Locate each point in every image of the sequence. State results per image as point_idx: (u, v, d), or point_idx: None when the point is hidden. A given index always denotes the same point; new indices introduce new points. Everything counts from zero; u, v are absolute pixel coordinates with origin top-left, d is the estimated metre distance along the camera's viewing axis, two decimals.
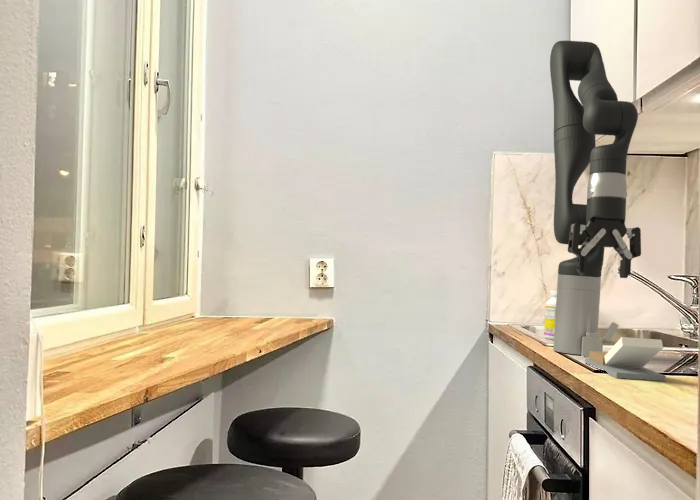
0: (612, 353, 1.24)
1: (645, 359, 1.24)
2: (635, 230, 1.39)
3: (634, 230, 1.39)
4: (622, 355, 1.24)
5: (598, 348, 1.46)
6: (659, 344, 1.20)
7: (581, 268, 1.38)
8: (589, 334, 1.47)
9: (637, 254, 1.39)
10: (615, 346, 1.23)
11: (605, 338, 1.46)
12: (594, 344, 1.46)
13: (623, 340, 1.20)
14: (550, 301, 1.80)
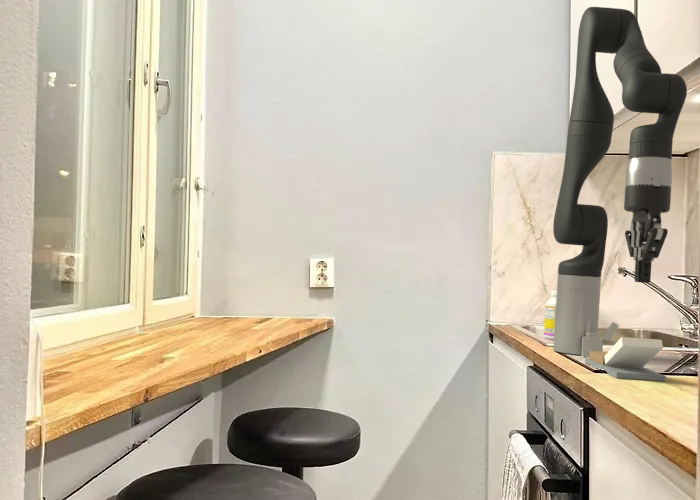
0: (612, 353, 1.24)
1: (645, 359, 1.24)
2: None
3: None
4: (622, 355, 1.24)
5: (598, 348, 1.46)
6: (659, 344, 1.20)
7: None
8: (589, 334, 1.47)
9: None
10: (615, 346, 1.23)
11: (605, 338, 1.46)
12: (594, 344, 1.46)
13: (623, 340, 1.20)
14: (550, 301, 1.80)
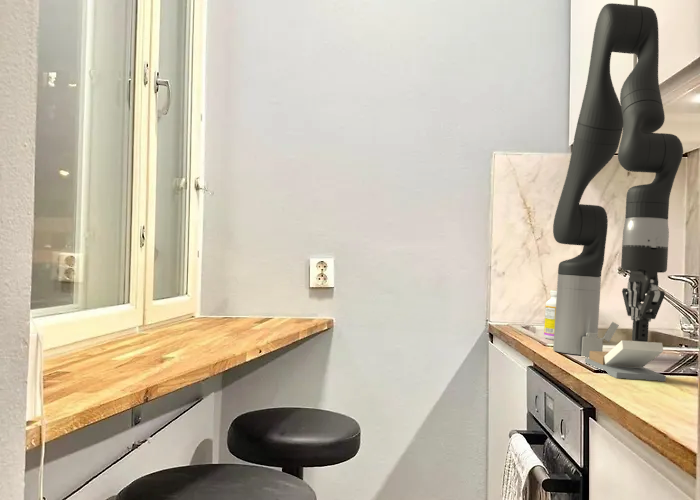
0: (612, 354, 1.24)
1: (644, 360, 1.24)
2: None
3: None
4: (622, 357, 1.24)
5: (598, 348, 1.46)
6: (659, 347, 1.20)
7: None
8: (589, 334, 1.47)
9: None
10: (615, 348, 1.23)
11: (605, 338, 1.46)
12: (594, 344, 1.46)
13: (624, 343, 1.20)
14: (550, 301, 1.80)
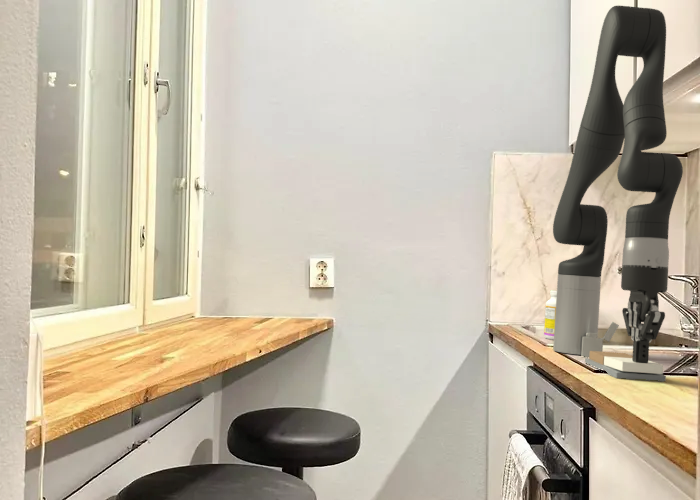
0: (612, 364, 1.24)
1: None
2: None
3: None
4: None
5: (598, 348, 1.46)
6: (659, 369, 1.19)
7: None
8: (589, 334, 1.47)
9: None
10: (615, 362, 1.23)
11: (605, 338, 1.46)
12: (594, 344, 1.46)
13: (624, 365, 1.19)
14: (550, 301, 1.80)
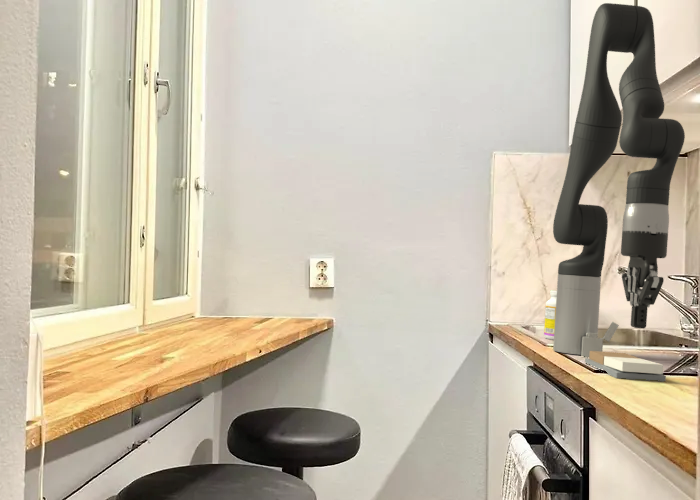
0: (612, 364, 1.24)
1: None
2: None
3: None
4: None
5: (598, 348, 1.46)
6: (659, 370, 1.19)
7: None
8: (589, 334, 1.47)
9: None
10: (615, 362, 1.23)
11: (605, 338, 1.46)
12: (594, 344, 1.46)
13: (624, 365, 1.19)
14: (550, 301, 1.80)
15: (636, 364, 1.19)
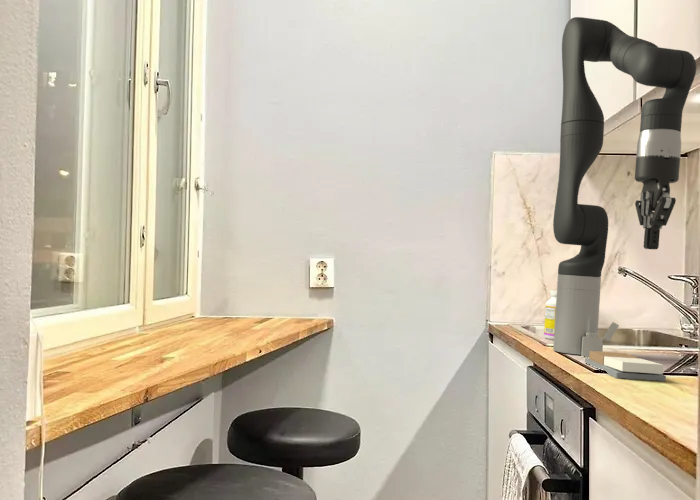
0: (612, 364, 1.24)
1: None
2: None
3: None
4: None
5: (598, 348, 1.46)
6: (659, 370, 1.19)
7: None
8: (589, 334, 1.47)
9: None
10: (615, 362, 1.23)
11: (605, 338, 1.46)
12: (594, 344, 1.46)
13: (624, 365, 1.19)
14: (550, 301, 1.80)
15: (636, 364, 1.19)
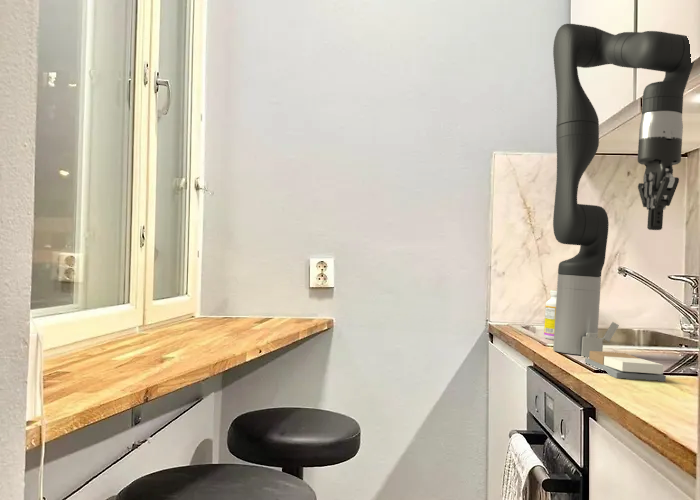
0: (612, 364, 1.24)
1: None
2: None
3: None
4: None
5: (598, 348, 1.46)
6: (659, 370, 1.19)
7: None
8: (589, 334, 1.47)
9: None
10: (615, 362, 1.23)
11: (605, 338, 1.46)
12: (594, 344, 1.46)
13: (624, 365, 1.19)
14: (550, 301, 1.80)
15: (636, 364, 1.19)
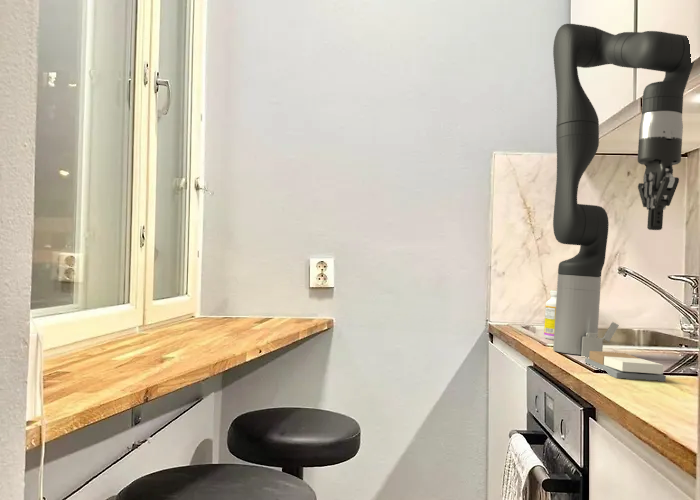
0: (612, 364, 1.24)
1: None
2: None
3: None
4: None
5: (598, 348, 1.46)
6: (659, 370, 1.19)
7: None
8: (589, 334, 1.47)
9: None
10: (615, 362, 1.23)
11: (605, 338, 1.46)
12: (594, 344, 1.46)
13: (624, 365, 1.19)
14: (550, 301, 1.80)
15: (636, 364, 1.19)
